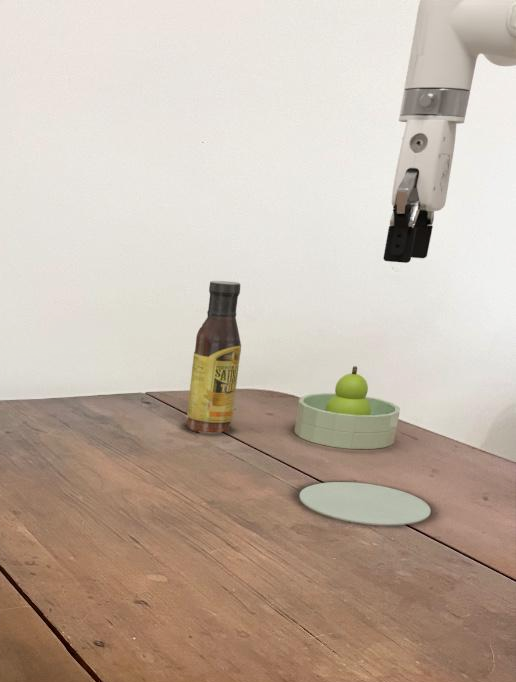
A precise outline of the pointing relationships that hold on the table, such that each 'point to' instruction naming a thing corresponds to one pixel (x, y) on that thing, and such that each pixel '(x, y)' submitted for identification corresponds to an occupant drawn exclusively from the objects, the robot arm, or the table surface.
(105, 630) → the table surface
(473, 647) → the table surface
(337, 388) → the pear
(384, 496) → the mat
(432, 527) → the table surface
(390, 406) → the bowl
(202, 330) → the sauce bottle
